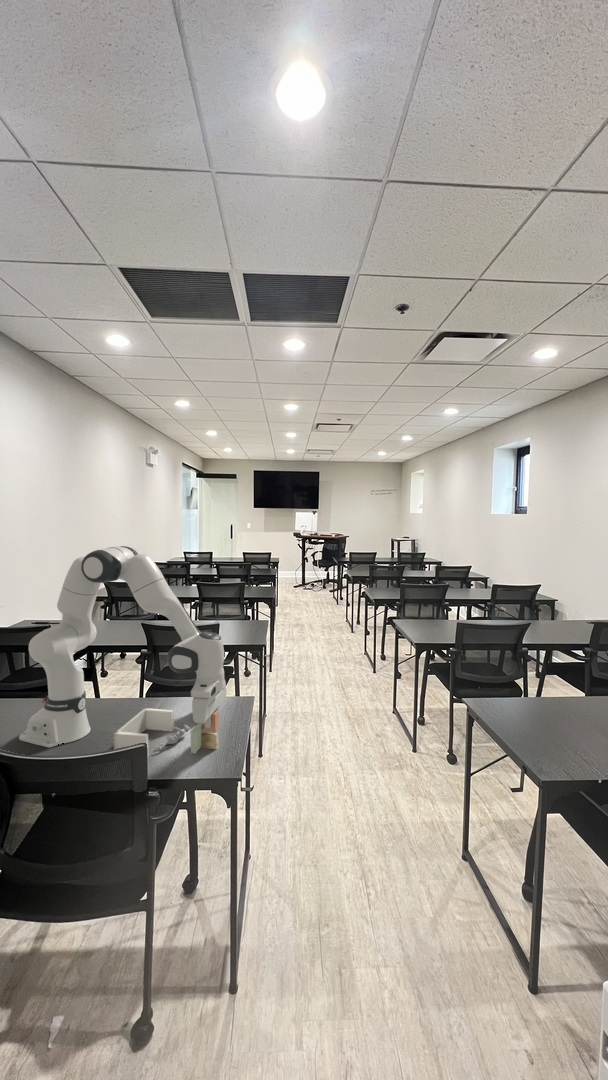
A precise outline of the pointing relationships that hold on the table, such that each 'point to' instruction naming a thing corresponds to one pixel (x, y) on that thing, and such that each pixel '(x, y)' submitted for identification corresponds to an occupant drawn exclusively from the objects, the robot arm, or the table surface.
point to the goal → (143, 727)
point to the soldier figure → (174, 737)
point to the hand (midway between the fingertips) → (211, 723)
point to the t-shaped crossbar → (203, 731)
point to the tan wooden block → (209, 740)
